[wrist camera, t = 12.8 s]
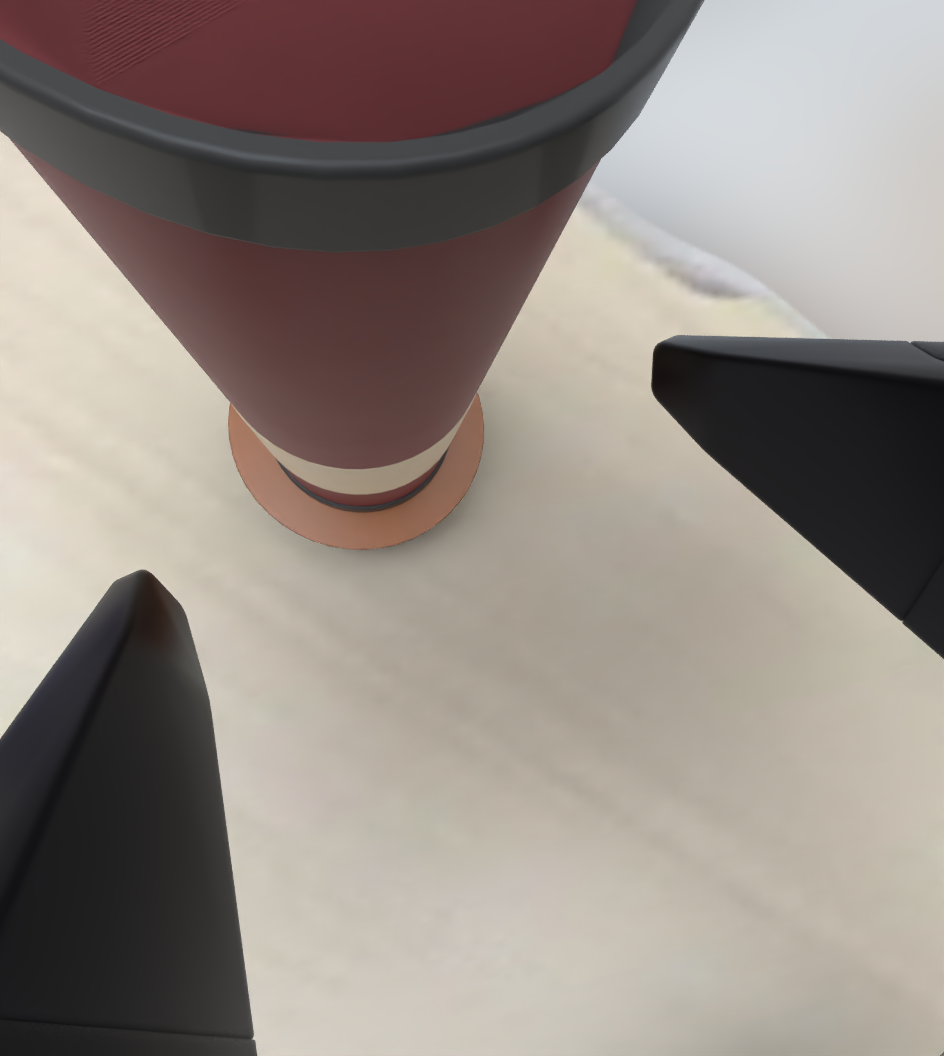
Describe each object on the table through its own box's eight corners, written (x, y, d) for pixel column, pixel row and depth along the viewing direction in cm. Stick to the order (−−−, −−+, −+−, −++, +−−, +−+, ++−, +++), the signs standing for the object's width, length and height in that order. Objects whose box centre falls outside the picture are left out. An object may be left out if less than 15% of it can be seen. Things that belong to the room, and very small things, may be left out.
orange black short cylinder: (345, 598, 18) (339, 602, 15) (204, 425, 18) (171, 396, 15) (508, 468, 20) (531, 449, 17) (381, 307, 20) (382, 259, 17)
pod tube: (387, 547, 16) (441, 385, 3) (232, 446, 15) (-721, -415, 2) (481, 406, 17) (876, -245, 4) (337, 307, 16) (158, -905, 3)
